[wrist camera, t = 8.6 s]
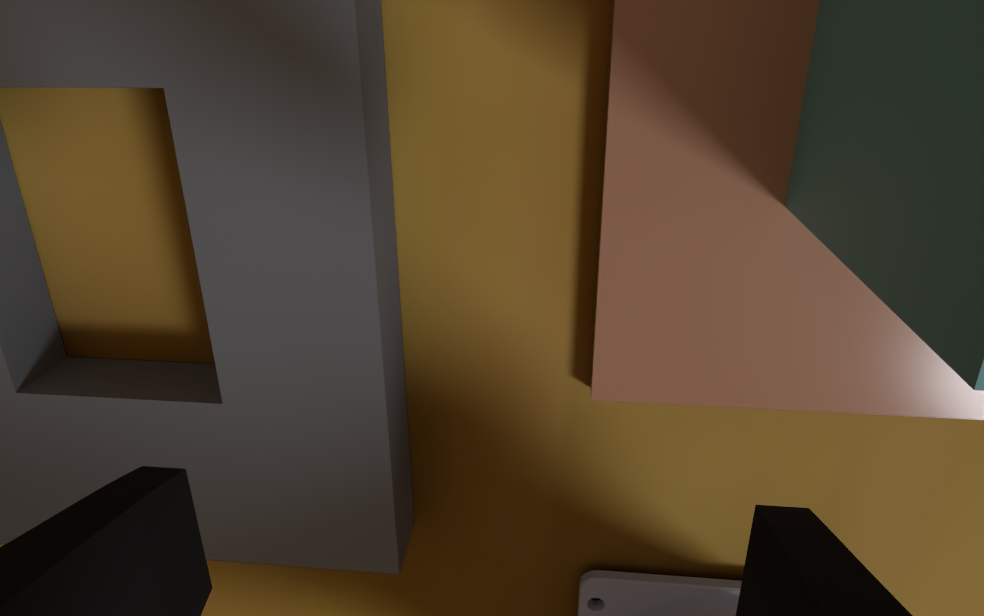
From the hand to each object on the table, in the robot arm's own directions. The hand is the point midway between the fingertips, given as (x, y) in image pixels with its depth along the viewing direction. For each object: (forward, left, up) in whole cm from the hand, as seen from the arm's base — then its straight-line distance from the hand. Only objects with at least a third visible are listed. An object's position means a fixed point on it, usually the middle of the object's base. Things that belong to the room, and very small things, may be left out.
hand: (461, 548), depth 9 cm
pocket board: (+1, +10, -9) cm, 14 cm away
